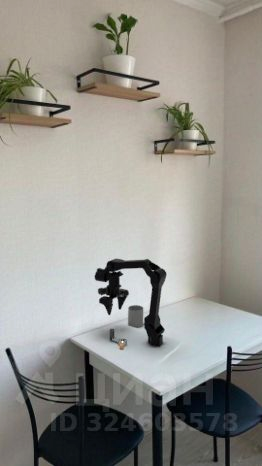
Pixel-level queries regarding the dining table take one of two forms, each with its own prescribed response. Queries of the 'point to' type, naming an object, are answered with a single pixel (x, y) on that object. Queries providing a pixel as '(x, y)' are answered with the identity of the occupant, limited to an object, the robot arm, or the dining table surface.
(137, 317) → the cup
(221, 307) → the dining table surface
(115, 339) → the crank
